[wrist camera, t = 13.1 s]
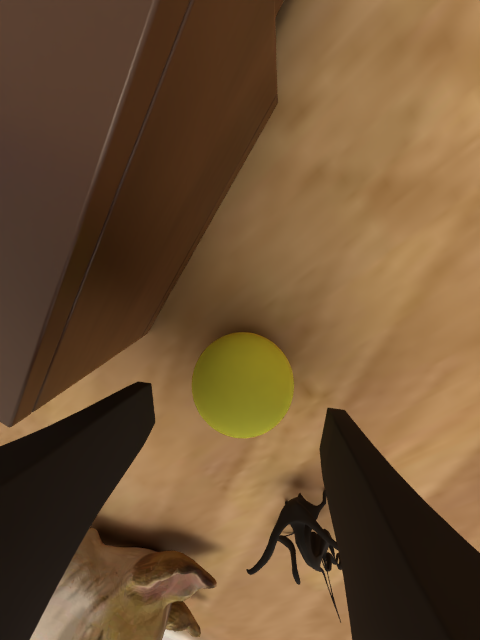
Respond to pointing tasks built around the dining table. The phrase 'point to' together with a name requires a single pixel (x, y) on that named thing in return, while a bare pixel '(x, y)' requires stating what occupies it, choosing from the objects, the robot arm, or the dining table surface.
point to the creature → (303, 538)
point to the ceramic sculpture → (122, 594)
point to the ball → (242, 385)
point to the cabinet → (113, 168)
